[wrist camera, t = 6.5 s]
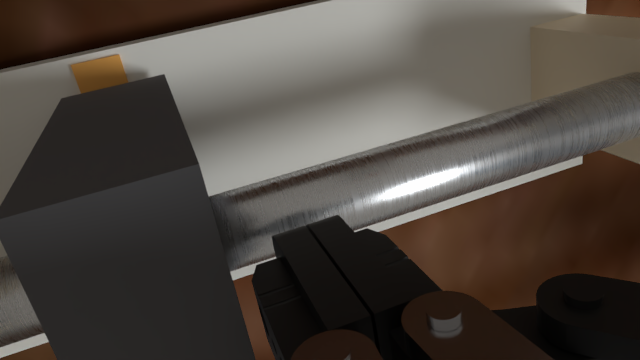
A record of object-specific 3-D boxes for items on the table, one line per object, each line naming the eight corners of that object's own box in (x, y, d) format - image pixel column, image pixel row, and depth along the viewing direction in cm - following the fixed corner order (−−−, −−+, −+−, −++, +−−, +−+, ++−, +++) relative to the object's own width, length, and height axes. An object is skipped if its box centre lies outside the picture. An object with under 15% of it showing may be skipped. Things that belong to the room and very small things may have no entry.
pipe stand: (568, -55, 21) (753, -69, 15) (565, 156, 25) (714, 216, 18) (-200, 113, 15) (-432, 206, 9) (-55, 360, 19) (-147, 551, 12)
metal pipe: (653, 49, 18) (721, 58, 16) (648, 115, 19) (712, 132, 17) (-193, 290, 12) (-258, 353, 10) (-141, 368, 13) (-190, 439, 11)
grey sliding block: (164, 73, 16) (199, 163, 8) (220, 266, 19) (287, 473, 11) (61, 98, 16) (-9, 221, 8) (135, 294, 18) (142, 535, 10)
